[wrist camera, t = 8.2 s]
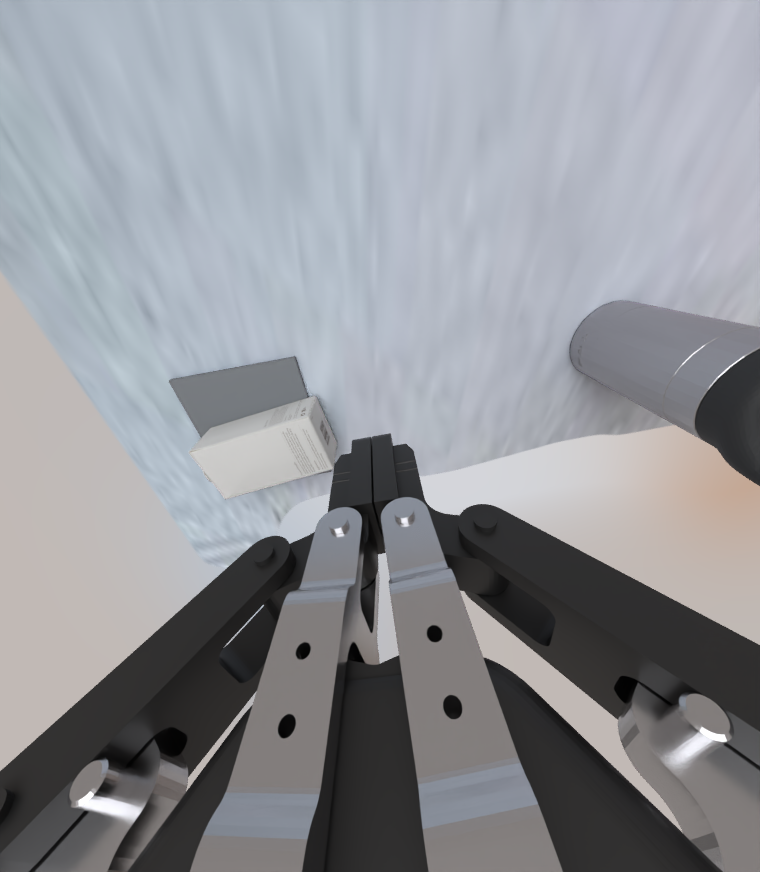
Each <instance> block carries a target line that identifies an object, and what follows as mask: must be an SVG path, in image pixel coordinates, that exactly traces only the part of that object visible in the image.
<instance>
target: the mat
mask: <svg viewBox="0 0 760 872" xmlns="http://www.w3.org/2000/svg"><path fill="white" fill-rule="evenodd" d="M169 383H170V385H171V386H172V388H173V390H174V391H175V393H176V395H177V397H178V398H179V400H180V402H181V404H182V405H183V407H184V409H185V411H186V412H187V414H188V416H189V418H190V419H191V421H192V423H193V424H194V426H195V428H196V430H197V431H198V433H199V435H200V437H201V438H202V437H203V436H204V435H205V433H206V432H207V431H208V430H209V429H210V428H212V427H215V426H218V425H222V424H225V423H228V422H231V421H234V420H238V419H241V418H244V417H247V416H250V415H254V414H257V413H260V412H263V411H266V410H270V409H273V408H276V407H279V406H283V405H286V404H289V403H292V402H296V401H299V400H302V399H305V398H308V395H307V391H306V388H305V385H304V382H303V379H302V376H301V373H300V370H299V367H298V363H297V360H296V357H289V358H284V359H279V360H273V361H268V362H262V363H257V364H251V365H246V366H241V367H235V368H230V369H224V370H219V371H214V372H208V373H203V374H197V375H192V376H186V377H181V378H176V379H171V380H169ZM331 470H332V469H331ZM331 470H328V471H324V472H321V473H326V472H331ZM321 473H317V474H321ZM314 475H315V474H314Z"/></svg>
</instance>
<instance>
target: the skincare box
mask: <svg viewBox="0 0 760 872" xmlns="http://www.w3.org/2000/svg"><path fill="white" fill-rule="evenodd" d="M336 448H337V441H336V439H335V437H334V435H333V433H332V431H331V428H330V426H329V424H328V422H327V420H326V417H325V415H324V413H323V411H322V408H321V406H320V404H319V402H318V399H317V397H316V396H312V397H309V398H305V399H302V400H299V401H296V402H292V403H289V404H286V405H283V406H279V407H276V408H273V409H270V410H266V411H263V412H260V413H257V414H254V415H250V416H247V417H244V418H241V419H238V420H234V421H231V422H228V423H225V424H222V425H218V426H215V427H212V428H210V429H209V430H208V431H207V432H206V433H205V435H204V436H203V437H202V438H201V439H200V440H199V441H198V442H197V443H196V444H195V445H194V446H193V447H192V449H191V450H190V451H189V454H190V455H191V457H192V458H193V459H194V460H195V462H196V463H197V464H198V465H199V467H200V468H201V469H202V470H203V473H204V475H205V477H206V478H207V479H208V480H209V481H210V482H212V483H213V484H214V485H215V487H216V488H217V489H218V491H219V492H220V493H221V494H222V496H223V497H224V498H225V499H229V498H232V497H236V496H239V495H243V494H246V493H250V492H253V491H257V490H260V489H264V488H267V487H271V486H274V485H278V484H282V483H285V482H289V481H292V480H296V479H299V478H303V477H306V476H310V475H314V474H317V473H321V472H324V471H328V470H331V469H333V468H334V462H335V455H336Z"/></svg>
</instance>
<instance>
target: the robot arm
mask: <svg viewBox="0 0 760 872" xmlns="http://www.w3.org/2000/svg"><path fill="white" fill-rule="evenodd" d="M570 356H571V361H572V363H573V365H574V366H575V367H576V368H577V370H579V371H581V372H582V373H584V374H586V375H588V376H589V377H591V378H593V379H595V380H596V381H598V382H600V383H601V384H603V385H605V386H607V387H608V388H610V389H612V390H614V391H616V392H617V393H619V394H621V395H623V396H624V397H626V398H628V399H630V400H632V401H633V402H635V403H637V404H639V405H640V406H642V407H644V408H646V409H648V410H649V411H651V412H653V413H655V414H657V415H658V416H660V417H662V418H664V419H665V420H667V421H669V422H671V423H673V424H675V425H677V426H678V427H680V428H682V429H684V430H686V431H687V432H689V433H691V434H692V435H694V436H696V437H698V438H700V439H701V440H703V441H705V442H707V443H709V444H710V445H712V446H714V447H715V448H717V449H718V451H719V452H720V453H721V455H722V456H723V458H724V459H725V460H726V461H727V462H728V463H729V465H730V466H731V467H733V468H734V469H735V470H736V471H738V472H739V473H741V474H742V475H743V476H745V477H746V478H748V479H749V480H751V481H753V482H754V483H756V484H757V485H759V486H760V327H755V326H750V325H745V324H740V323H735V322H730V321H725V320H720V319H715V318H710V317H705V316H700V315H695V314H690V313H685V312H680V311H675V310H670V309H665V308H660V307H656V306H651V305H646V304H641V303H636V302H631V301H615V302H611V303H608V304H606V305H603V306H602V307H600V308H598V309H597V310H595V311H594V312H593V313H591V314H590V315H589V316H588V317H587V318H586V319H585V320H584V321H583V322H582V323H581V325H580V326H579V328H578V329H577V331H576V333H575V335H574V337H573V339H572V343H571V347H570ZM333 474H334V476H333V480H332V483H333V484H332V487H331V494H330V501H329V508H328V513H327V514H325V515H324V516H323V517H322V518H321V519H320V520H319V522H318V524H317V527H316V530H315V532H314V533H312V534H311V535H309V536H307V537H304V538H302V539H300V540H298V541H295V542H293V543H291V544H289V543H288V541H287V540H286V539H285V538H283V537H280V536H270V537H267V538H264V539H262V540H260V541H258V542H257V543H255V544H254V545H252V546H251V547H250V548H249V549H248V550H247V551H246V552H245V553H243V554H242V555H241V556H240V557H239V558H238V559H237V560H236V561H234V562H233V563H232V564H231V565H230V566H229V567H228V568H227V569H226V570H225V571H223V572H222V573H221V574H220V575H219V576H218V577H217V578H216V579H214V580H213V581H212V582H211V583H210V584H209V585H208V586H207V587H205V588H204V589H203V590H202V591H201V592H200V593H199V594H198V595H197V596H196V597H194V598H193V599H192V600H191V601H190V602H189V603H188V604H187V605H185V606H184V607H183V608H182V609H181V610H180V611H179V612H178V613H176V614H175V615H174V616H173V617H172V618H171V619H170V620H169V621H168V622H166V623H165V624H164V625H163V626H162V627H161V628H160V629H159V630H158V631H156V632H155V633H154V634H153V635H152V636H151V637H150V638H149V639H148V640H146V641H145V642H144V643H143V644H142V645H141V646H140V647H139V648H137V649H136V650H135V651H134V652H133V653H132V654H131V655H130V656H128V657H127V658H126V659H125V660H124V661H123V662H122V663H121V664H120V665H119V666H117V667H116V668H115V669H114V670H113V671H112V672H111V673H110V674H108V675H107V676H106V677H105V678H104V679H103V680H102V681H101V682H99V684H98V685H96V686H95V687H94V688H93V689H92V690H91V691H90V692H88V693H87V694H86V695H85V696H84V697H83V698H82V699H81V700H80V701H78V702H77V703H76V704H75V705H74V706H73V707H72V708H70V709H69V710H68V711H67V712H66V713H65V714H64V715H63V716H62V717H61V718H59V719H58V720H57V721H56V722H55V723H54V724H53V725H52V726H50V727H49V728H48V729H47V730H46V731H45V732H44V733H43V734H41V735H40V736H39V737H38V738H37V739H36V740H35V741H34V742H33V743H31V744H30V745H29V746H28V747H27V748H26V749H25V750H24V751H22V752H21V753H20V754H19V755H18V756H17V757H16V758H15V759H14V760H12V761H11V762H10V763H9V764H8V765H7V766H6V767H5V768H4V769H2V770H1V771H0V872H760V645H758V644H756V643H755V642H753V641H751V640H749V639H747V638H745V637H743V636H741V635H739V634H737V633H736V632H733V631H732V630H730V629H728V628H726V627H724V626H722V625H720V624H718V623H716V622H715V621H713V620H711V619H709V618H707V617H705V616H703V615H701V614H699V613H698V612H696V611H694V610H692V609H690V608H688V607H686V606H684V605H682V604H680V603H679V602H677V601H674V600H673V599H671V598H669V597H667V596H665V595H663V594H661V593H660V592H658V591H656V590H654V589H652V588H650V587H648V586H646V585H644V584H642V583H641V582H639V581H637V580H635V579H633V578H631V577H629V576H627V575H625V574H623V573H621V572H620V571H618V570H615V569H614V568H612V567H610V566H608V565H606V564H604V563H603V562H601V561H599V560H597V559H595V558H593V557H591V556H589V555H587V554H585V553H583V552H582V551H580V550H578V549H576V548H574V547H572V546H570V545H568V544H566V543H565V542H563V541H561V540H559V539H557V538H555V537H553V536H551V535H549V534H547V533H546V532H544V531H541V530H540V529H538V528H536V527H534V526H532V525H530V524H529V523H527V522H525V521H523V520H521V519H519V518H517V517H515V516H513V515H511V514H509V513H508V512H506V511H504V510H502V509H500V508H497V507H495V506H492V505H486V504H478V505H473V506H471V507H468V508H466V509H465V510H464V511H463V512H462V513H461V514H460V516H459V515H450V514H443V513H440V512H438V511H435V510H434V509H432V508H431V507H430V506H429V505H428V504H427V503H426V501H425V499H424V495H423V491H422V486H421V482H420V477H419V473H418V469H417V464H416V460H415V456H414V451H413V450H412V449H411V448H410V447H409V446H408V445H407V444H402V445H396V446H393V443H392V438H391V434H385V435H379V436H373V437H372V438H371V437H368V438H362V439H357V440H353V441H352V451H351V453H350V454H345V455H341V456H340V458H339V459H338V460H337V462H336V463H335V466H334V473H333ZM385 549H386V552H385ZM382 553H386V555H387V562H388V569H389V575H390V580H389V588H390V596H391V603H392V609H393V616H394V623H395V630H396V637H397V644H398V651H399V656H397V657H394V658H392V659H390V660H388V661H385V662H383V663H381V664H380V663H379V653H378V645H377V625H378V600H379V599H378V598H379V572H378V554H382ZM460 590H461V591H465V593H466V594H467V596H468V597H469V598H470V599H471V600H472V601H474V602H475V603H476V604H477V605H478V606H480V607H481V608H482V609H483V610H485V611H486V612H487V613H488V614H490V615H491V616H492V617H493V618H495V619H496V620H497V621H498V622H499V623H500V624H502V625H503V626H504V627H505V628H507V629H508V630H509V631H510V632H511V633H513V634H514V635H515V636H516V637H518V638H519V639H520V640H521V641H522V642H524V643H525V644H526V645H527V646H529V647H530V648H531V649H533V651H535V652H536V653H537V654H538V655H540V656H541V657H542V658H543V659H544V660H546V661H547V662H548V663H550V664H551V665H552V666H553V667H554V668H555V669H557V670H558V671H559V672H560V673H562V674H563V675H564V676H565V677H566V678H568V679H569V680H570V681H571V682H572V683H574V684H575V685H576V686H577V687H579V688H580V689H581V690H582V691H584V692H585V693H586V694H587V695H589V696H590V697H591V698H592V699H593V700H595V701H596V702H597V703H598V704H599V705H601V706H602V707H603V708H604V709H605V710H607V711H608V712H609V713H610V714H612V715H613V716H614V717H615V718H617V719H618V729H619V735H620V739H621V742H622V745H623V747H624V750H625V752H626V754H627V756H628V757H629V759H630V761H631V762H632V764H633V765H634V767H635V768H636V770H637V771H638V772H639V773H640V775H641V776H642V777H643V778H644V779H645V780H646V781H647V782H648V783H649V784H650V785H651V787H652V788H653V789H654V790H655V791H656V792H657V793H658V794H659V795H660V796H661V798H662V799H663V800H664V802H665V803H666V804H667V805H668V807H669V808H670V810H671V811H672V813H673V814H674V816H675V818H676V820H677V821H678V823H679V825H680V827H681V829H682V831H683V833H682V832H681V831H680V830H679V829H678V828H677V827H676V826H675V825H674V824H673V823H672V822H671V821H669V819H668V818H666V817H665V816H664V815H663V814H662V813H661V812H660V811H659V810H658V809H657V808H656V807H655V806H654V805H653V804H652V803H651V802H649V800H648V799H647V798H646V797H645V796H643V795H642V794H641V793H640V792H639V791H638V790H637V789H636V788H635V787H634V786H633V785H632V784H631V783H630V782H629V781H628V780H627V779H626V778H625V777H624V776H623V775H622V774H621V773H619V771H617V770H616V769H615V768H614V767H613V766H612V765H611V764H610V763H609V762H608V761H607V760H606V759H605V758H604V757H603V756H602V755H601V754H600V753H599V752H598V751H597V750H596V749H595V748H594V747H593V746H591V745H590V744H589V743H588V742H587V741H586V740H585V739H584V738H583V737H582V736H581V735H580V734H579V733H578V732H577V731H576V730H575V729H574V728H573V727H572V726H571V725H570V724H569V723H568V722H567V721H565V720H564V719H563V718H562V717H561V716H560V715H559V714H558V713H557V712H556V711H555V710H554V709H553V708H552V707H551V706H550V705H549V704H548V703H547V702H546V701H545V700H544V699H543V698H542V697H541V696H539V695H538V694H537V693H536V692H535V691H534V690H533V689H532V688H531V687H530V686H529V685H528V684H527V683H526V682H524V681H523V680H522V679H521V678H519V677H518V676H517V675H516V674H514V673H513V672H511V671H510V670H508V669H507V668H505V667H503V666H502V665H500V664H498V663H496V662H494V661H492V660H489V659H487V658H483V656H482V653H481V650H480V647H479V644H478V641H477V639H476V636H475V633H474V630H473V627H472V624H471V621H470V619H469V616H468V613H467V610H466V607H465V604H464V602H463V599H462V596H461V593H460ZM263 604H264V607H263V608H262V609H261V610H260V611H259V612H258V613H257V614H256V615H255V616H254V617H253V618H252V619H251V621H250V622H249V623H248V624H247V625H246V626H245V627H244V628H243V629H242V630H241V631H240V633H238V635H237V636H236V637H235V638H234V639H233V640H232V641H231V642H230V643H229V644H228V645H227V646H226V647H224V646H225V645H226V644H227V643H228V642H229V641H230V639H231V638H232V637H233V636H234V635H235V634H236V633H237V632H238V631H239V630H240V629H241V628H242V627H243V626H244V625H245V623H246V622H247V621H248V620H249V619H250V618H251V617H252V616H253V615H254V614H255V613H256V612H257V611H258V609H259V608H260V607H261V606H262V605H263ZM256 691H257V693H256V696H255V699H254V702H253V705H252V706H251V707H250V709H248V711H247V712H246V713H245V714H244V715H243V717H242V718H241V719H240V720H239V722H238V723H237V724H236V726H235V727H234V729H233V730H232V731H231V732H230V734H229V735H228V736H227V738H226V739H225V740H224V742H223V743H222V745H221V746H220V747H219V749H218V750H217V751H216V753H215V754H214V755H213V757H212V758H211V759H210V761H209V762H208V763H207V765H206V766H205V767H204V769H203V770H202V771H201V773H200V774H199V776H198V777H197V778H196V780H195V781H194V782H193V784H192V785H191V786H190V788H189V789H188V790H187V792H186V788H187V783H188V777H189V776H190V774H191V773H192V772H193V771H194V769H195V768H196V766H197V765H198V764H199V763H200V762H201V760H202V759H203V758H204V757H205V755H206V754H207V753H208V752H209V750H210V749H211V748H212V746H213V745H214V744H215V743H216V741H217V740H218V739H219V738H220V736H221V735H222V734H223V733H224V731H225V730H226V729H227V727H228V726H229V725H230V724H231V722H232V721H233V720H234V718H235V717H236V716H237V715H238V714H239V712H240V711H241V710H242V708H243V707H244V706H245V705H246V703H247V702H248V701H249V700H250V698H251V697H252V696H253V694H254V693H255V692H256Z"/></svg>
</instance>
